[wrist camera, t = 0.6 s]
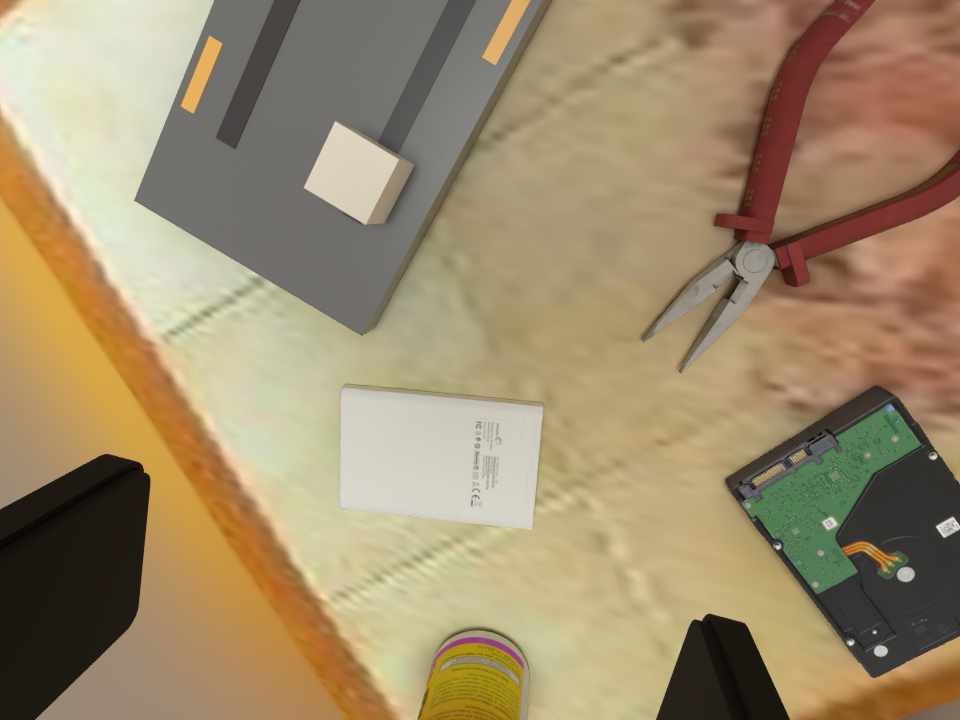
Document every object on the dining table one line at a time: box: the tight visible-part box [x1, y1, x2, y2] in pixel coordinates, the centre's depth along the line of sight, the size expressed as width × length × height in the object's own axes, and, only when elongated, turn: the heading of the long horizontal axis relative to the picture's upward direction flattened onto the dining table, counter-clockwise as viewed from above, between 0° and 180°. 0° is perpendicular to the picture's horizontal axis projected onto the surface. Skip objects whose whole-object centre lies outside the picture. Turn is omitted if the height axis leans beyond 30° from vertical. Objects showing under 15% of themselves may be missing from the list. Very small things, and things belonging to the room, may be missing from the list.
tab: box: [304, 121, 415, 225], centre depth 32 cm, size 4×4×4 cm
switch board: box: [134, 0, 552, 336], centre depth 34 cm, size 22×15×3 cm
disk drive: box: [725, 386, 960, 678], centre depth 37 cm, size 10×3×15 cm
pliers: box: [642, 0, 960, 373], centre depth 34 cm, size 12×20×3 cm, turn 142°
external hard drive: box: [339, 384, 544, 530], centre depth 40 cm, size 2×8×12 cm
